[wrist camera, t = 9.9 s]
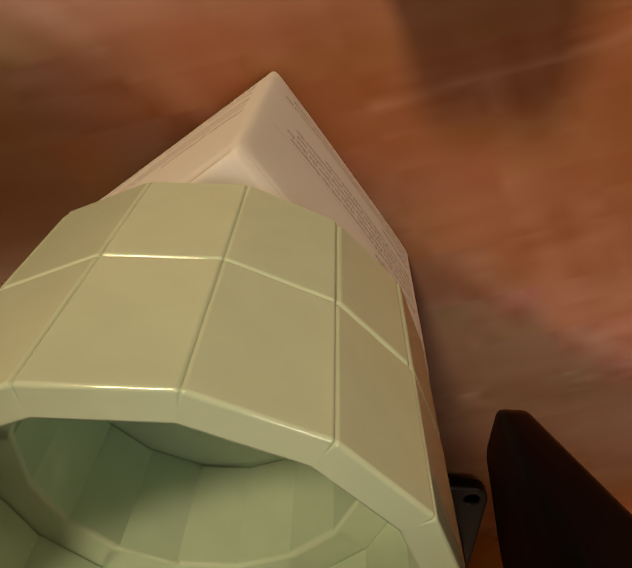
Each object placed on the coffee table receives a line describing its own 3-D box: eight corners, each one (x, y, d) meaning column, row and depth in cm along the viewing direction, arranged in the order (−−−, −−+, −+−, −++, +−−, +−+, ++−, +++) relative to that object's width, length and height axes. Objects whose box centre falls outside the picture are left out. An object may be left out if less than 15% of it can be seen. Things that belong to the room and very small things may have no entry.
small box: (90, 201, 14) (-13, 322, 10) (276, 59, 12) (244, 134, 8) (239, 353, 16) (206, 500, 12) (414, 253, 15) (444, 389, 10)
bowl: (396, 488, 12) (423, 755, 8) (69, 474, 12) (-54, 732, 8) (442, 178, 8) (530, 404, 4) (-30, 162, 8) (-332, 370, 5)
